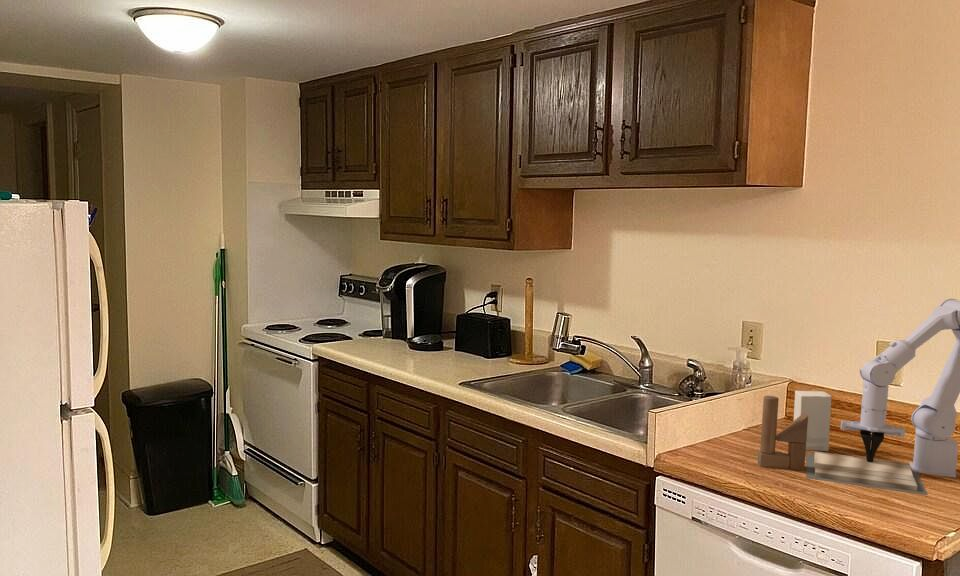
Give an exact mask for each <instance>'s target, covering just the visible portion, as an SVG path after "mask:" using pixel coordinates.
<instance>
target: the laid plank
mask: <svg viewBox="0 0 960 576" xmlns="http://www.w3.org/2000/svg"><path fill="white" fill-rule="evenodd" d="M815 477H819V478H827V479H834V480H841V481H848V482H855V483H862V484H869V485H876V486H883V487H890V488H898V489H905V490H912V491H917V484H916V482H915V479H914V477H913V476H907V475H900V474H892V473H885V472H878V471H870V470H863V469H855V468H848V467H840V466H833V465H826V464H818V463H815Z"/></svg>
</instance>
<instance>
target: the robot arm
mask: <svg viewBox="0 0 960 576" xmlns="http://www.w3.org/2000/svg"><path fill="white" fill-rule="evenodd" d="M943 330H951V332H952V333H953V335H954V337H955V339H956V341H955V343H954V345H953V347H952V350H951V352H950V354H949V355H948V358H947V360H946V363H945V364H944V366H943V368H942V371H941V373H940V375H939V378H938V379H937V382H936V384H935V385H934V388H933V390H932V393H931V395H930V396H929V397H926V398H924V399H923V400H922V401H921V403H920V405H919V406H918V407H916V409H914V410H913V412H912V414H911V417H910V418H911V420H910V421H911V423H912V426H913V427H914V428H915V429H914V430H915V436H914V437H915V438H914V447H913V449H914V450H913V459H912V460H913V461H909V462H908V464H910V467H911V468H912V470H913V472H918V474H919V473H920V474H926V475H933V476H940V477H942V476H943V477H950V478H957V464H958V454H959V453H958V451H959V450H958V449H959V445H958V441H957V439H954V438H951V437H952V436H953V434H954V433H955V431H956V419H957V417H958V413H957V410H956V407H955V404H956V402H957V400H958V398H959V395H960V300H959V299H956V298H947V299H945V300H943V301H942V302H940V304H939V305H937V306H936V307H934V308H933V310H932V312H931V314H930V315H928V316H927V318H926V319H925V320H924V321H923V322H921V323H920V325H918V326H917V328H915V329H914V330H913V331H912V332H910V334H909V335H908V336H907V337H906V338H905V339H897V340H895V341H890V343H888V347H887V348H886V349H884V351H882V352H881V353H879V355H878V354H877V355H875V356H873V357H874V359H871V360H868V361H866V362H864V363H863V365H862V367H861V369H859V376H860V377H861V378H862V380H863V383H862V384H863V386H862V397H861V398H862V399H861V408H860V409H861V410H860V421H848V420H841V421H840V430H842V431H846V430H847V431H854V432H855V431H856V432H859V434H860V437H861V439H862V442H863V444H864V449H865V458H866V460H867V461H870V462H873V459H875V455H876V453H877V451H878V449H879V447H880V446H881V444H882V443H883V441H884V439H885V435H888V436H896V437H900V438H906V437H905V435H906V429H905V428H904V427H899V426H898V427H897V426H893V425H887V424H886V423H887V421H886V419H887V409H888V397H889V385H890V384H893V382H894V380H895V377H896V374H897V373H898V372H899V371H900V370H901V369H902V368H903V367H904V366H906V365H907V364H909V363H910V362H911V361H912V360H913V359H914V358H915V357H916V350H917V349H918V348H920V347H921V346H922V345H924V344H925V343H927V342H928V341H930V340H931V339H932V338H933V337H934V336H936V335H937V334H938V333H940V332H941V331H943Z"/></svg>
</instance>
